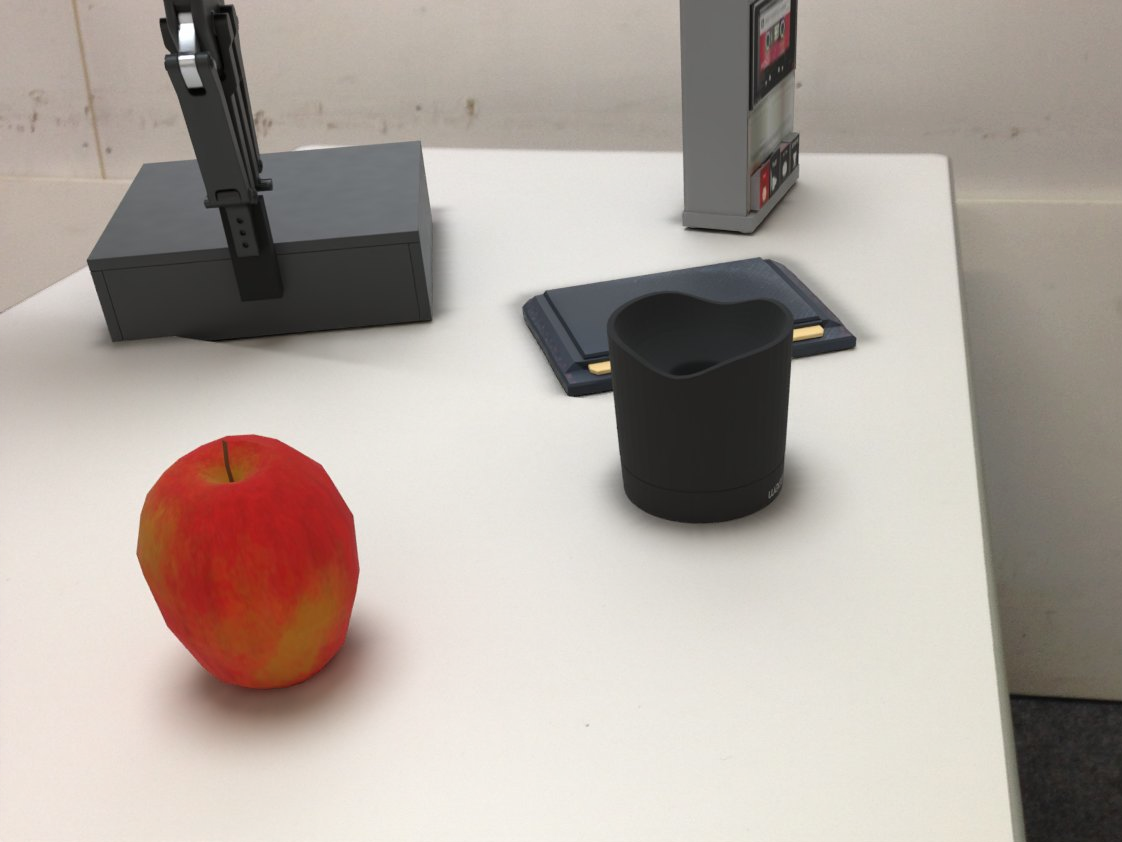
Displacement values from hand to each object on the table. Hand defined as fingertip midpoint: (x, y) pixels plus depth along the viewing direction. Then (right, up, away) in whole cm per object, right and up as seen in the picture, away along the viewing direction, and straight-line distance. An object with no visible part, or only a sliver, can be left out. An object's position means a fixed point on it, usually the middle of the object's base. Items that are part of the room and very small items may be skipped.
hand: (262, 295), depth 87 cm
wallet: (+29, -2, +1) cm, 29 cm away
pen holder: (+29, -16, -17) cm, 37 cm away
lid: (-1, +4, +11) cm, 12 cm away
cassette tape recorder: (+34, +13, +20) cm, 42 cm away
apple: (+9, -25, -27) cm, 38 cm away
